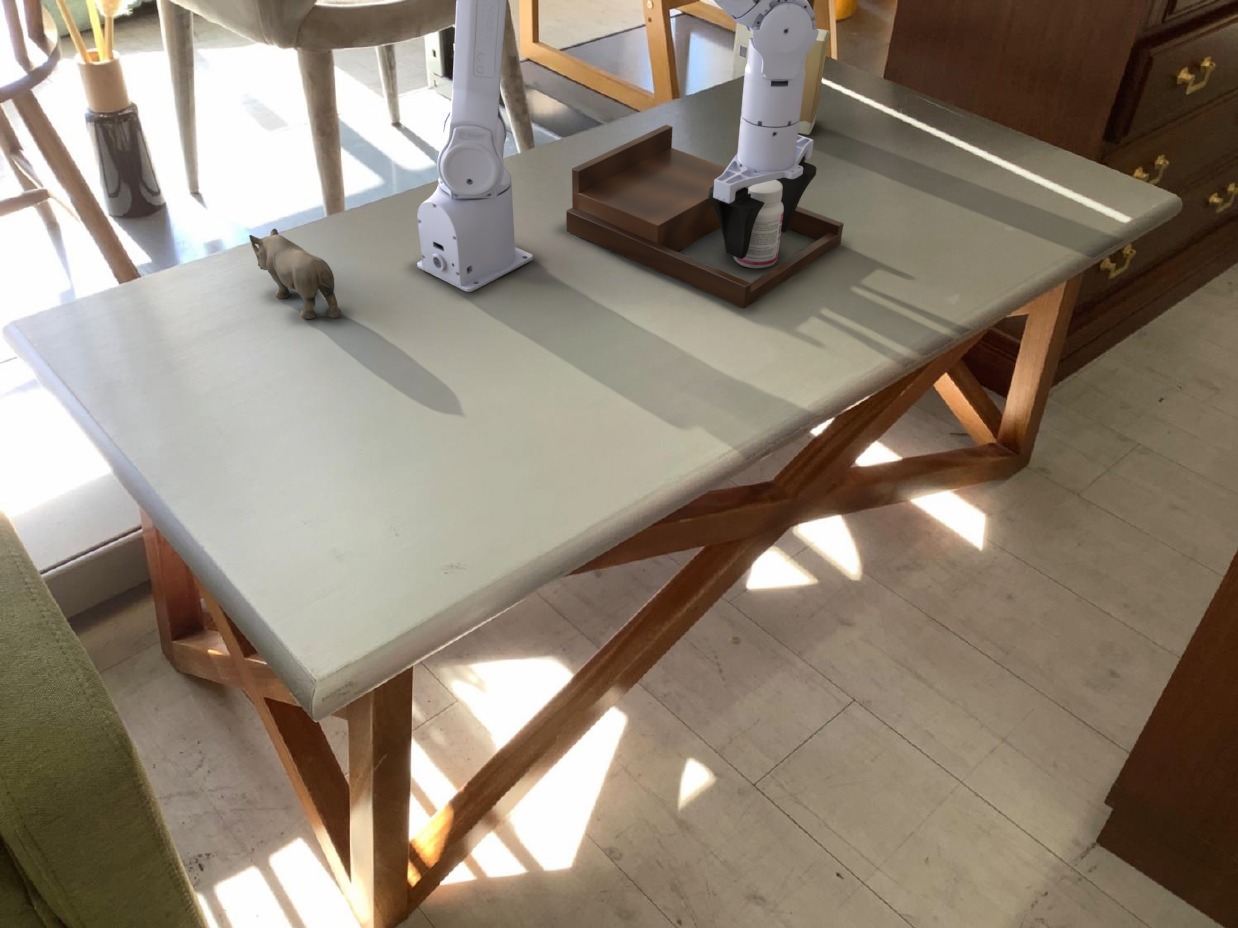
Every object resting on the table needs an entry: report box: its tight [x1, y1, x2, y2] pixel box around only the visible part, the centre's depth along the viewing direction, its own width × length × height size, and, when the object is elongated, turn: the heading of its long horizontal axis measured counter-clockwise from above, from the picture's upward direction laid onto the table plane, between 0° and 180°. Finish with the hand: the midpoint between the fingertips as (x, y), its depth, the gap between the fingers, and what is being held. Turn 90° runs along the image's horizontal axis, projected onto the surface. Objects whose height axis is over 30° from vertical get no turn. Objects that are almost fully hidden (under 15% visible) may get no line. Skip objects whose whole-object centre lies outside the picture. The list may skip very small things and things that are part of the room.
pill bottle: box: [732, 180, 784, 269], centre depth 115 cm, size 5×5×8 cm
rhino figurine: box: [248, 227, 343, 320], centre depth 109 cm, size 4×14×6 cm, turn 43°
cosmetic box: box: [798, 28, 830, 136], centre depth 141 cm, size 6×4×12 cm
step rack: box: [565, 124, 844, 309], centre depth 119 cm, size 18×24×7 cm
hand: (757, 241), depth 116 cm, fingers open, 7 cm apart
